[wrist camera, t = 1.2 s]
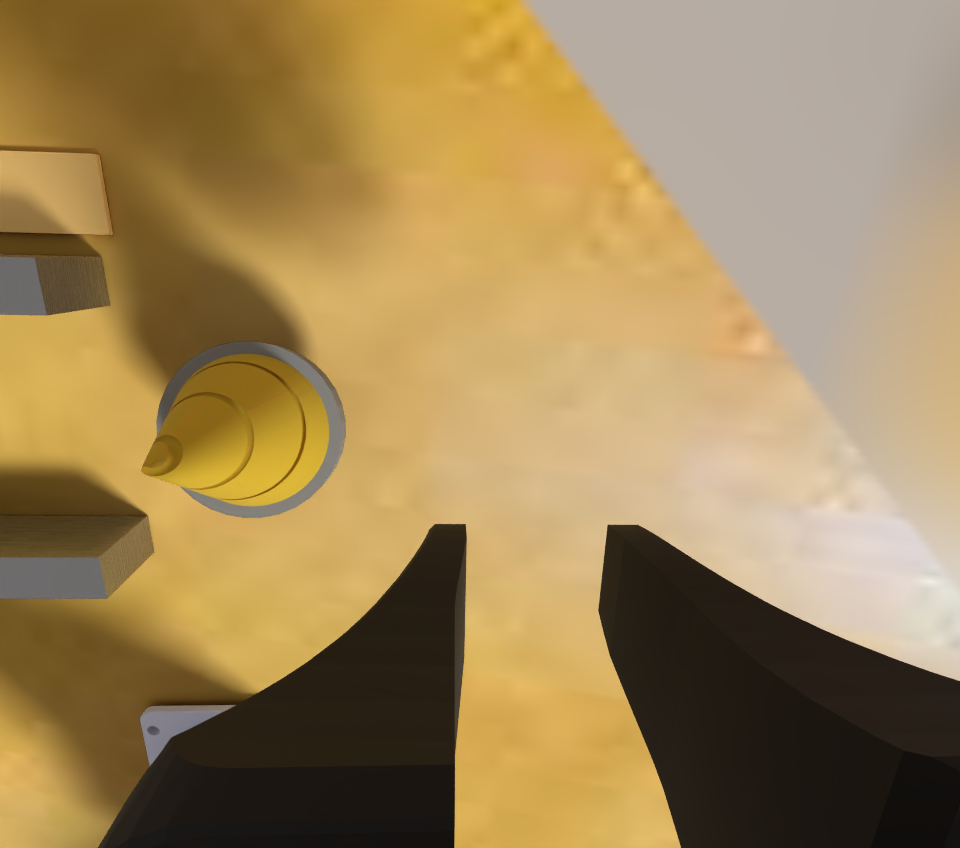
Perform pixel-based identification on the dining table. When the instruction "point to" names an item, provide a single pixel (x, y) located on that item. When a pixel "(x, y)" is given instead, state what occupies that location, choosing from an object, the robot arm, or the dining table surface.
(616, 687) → the dining table surface
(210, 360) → the grooved yellow cone
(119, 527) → the bracket
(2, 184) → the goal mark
